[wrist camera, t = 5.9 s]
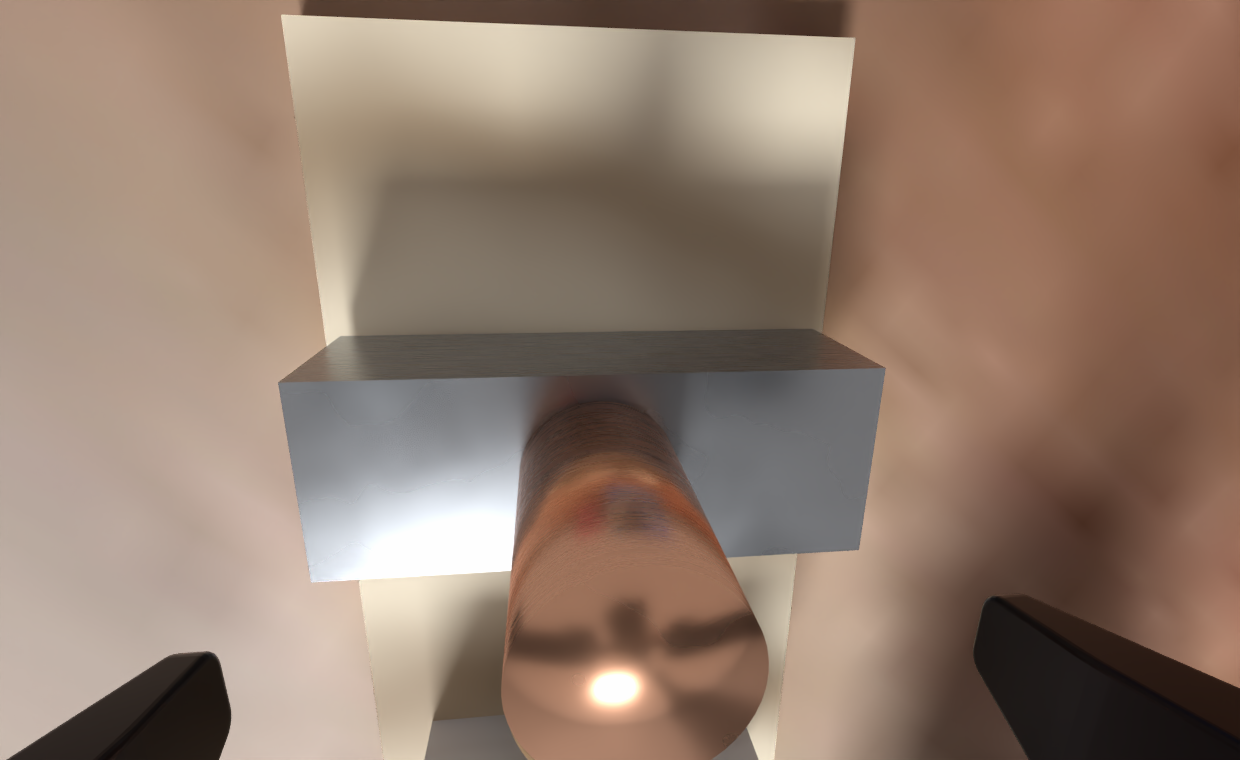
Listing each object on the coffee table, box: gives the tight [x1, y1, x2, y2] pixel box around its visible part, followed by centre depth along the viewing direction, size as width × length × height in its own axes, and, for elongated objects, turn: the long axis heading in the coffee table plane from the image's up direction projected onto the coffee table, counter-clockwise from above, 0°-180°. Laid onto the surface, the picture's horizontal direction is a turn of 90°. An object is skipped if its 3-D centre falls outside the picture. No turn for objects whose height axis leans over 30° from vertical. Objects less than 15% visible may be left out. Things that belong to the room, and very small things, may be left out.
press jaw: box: [278, 329, 886, 760], centre depth 11 cm, size 4×11×9 cm, turn 89°
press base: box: [281, 15, 855, 760], centre depth 14 cm, size 22×12×6 cm, turn 179°
